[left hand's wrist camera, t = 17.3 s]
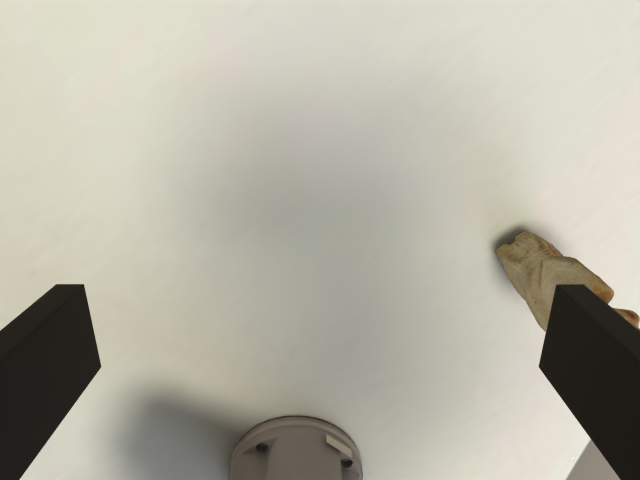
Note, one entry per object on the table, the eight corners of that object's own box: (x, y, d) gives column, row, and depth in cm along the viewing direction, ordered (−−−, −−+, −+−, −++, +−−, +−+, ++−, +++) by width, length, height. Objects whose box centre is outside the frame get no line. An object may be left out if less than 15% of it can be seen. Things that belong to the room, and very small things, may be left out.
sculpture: (513, 302, 45) (602, 407, 31) (478, 248, 43) (556, 334, 29) (567, 270, 44) (685, 364, 30) (533, 213, 42) (643, 285, 28)
